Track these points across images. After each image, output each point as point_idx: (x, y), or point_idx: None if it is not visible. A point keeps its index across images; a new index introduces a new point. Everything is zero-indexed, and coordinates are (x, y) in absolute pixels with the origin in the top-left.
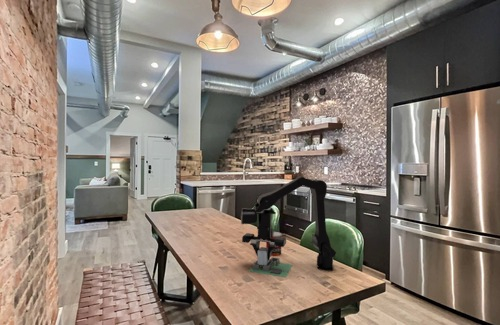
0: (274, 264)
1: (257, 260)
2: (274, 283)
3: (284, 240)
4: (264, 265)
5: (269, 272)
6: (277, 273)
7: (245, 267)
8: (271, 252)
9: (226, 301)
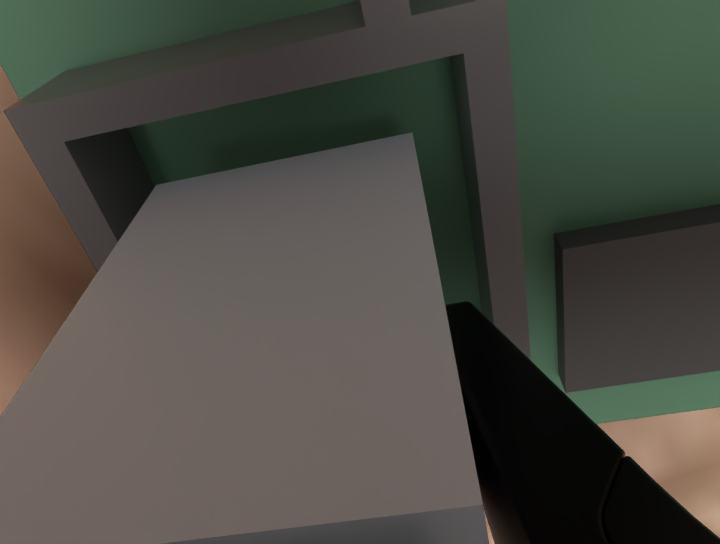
0: None
1: (100, 250)
2: (669, 486)
3: None
4: (289, 134)
5: (539, 368)
6: (697, 359)
7: (8, 296)
8: (622, 478)
9: None
